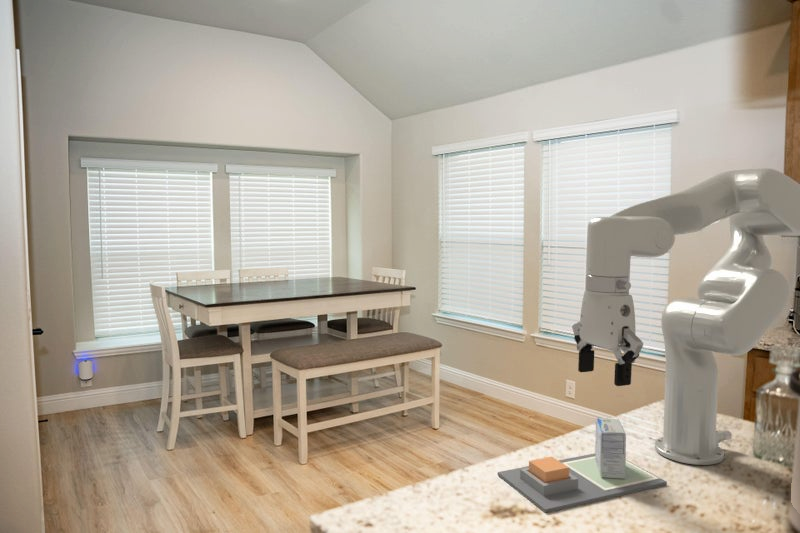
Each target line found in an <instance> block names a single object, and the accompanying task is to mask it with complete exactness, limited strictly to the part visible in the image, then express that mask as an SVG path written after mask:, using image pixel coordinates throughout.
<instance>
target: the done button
mask: <svg viewBox="0 0 800 533" xmlns="http://www.w3.org/2000/svg"><path fill="white" fill-rule="evenodd" d="M528 466H529V472H530V473H531V474H533V475H534V476H535V477H537V478H538V479H540V480H541V481H542V482H544V483H548V482H553V481H558V480H563V479H568V478H569V467H568V466H566V465H565V464H563V463H561V462H560V461H558V459H557V458H555V457H554V456H548V457H544V458H537V459H533V460H528Z"/></svg>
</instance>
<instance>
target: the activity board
mask: <svg viewBox="0 0 800 533" xmlns="http://www.w3.org/2000/svg"><path fill="white" fill-rule="evenodd" d="M557 460H558V459H557ZM558 461H560V462H561V463H563V464H565V465H566V466H568V467H569V478H568V479H563V480H558V481H553V482H548V483H544V482H542V481H541V480H540V479H538V478H537V477H535V476H534V475H533V474H531V473H530V472H529V465H528V466H522V467H518V468H513V469H507V470H503V471H501V470H500V471H497V476H498V477H499V478H501V479H502V480H503V481H504V482H505V483H506V484H508V485H509V486H510V487H511V488H513V489H514V490H516V491H517V492H518V493H520V495H522V496H523V497H524V498H526V499H527V500H528V501H529V502H531V503H532V504H533V505H534V506H535V507H538V509H540V511H542V512H544V513H545V514H546V513H551V512H555V511H560V510H565V509H568V508H572V507H577V506H581V505H586V504H591V503H594V502H599V501H603V500H607V499H613V498H616V497H620V496H624V495H625V496H626V495H628V494H634V493H637V492H638V493H639V492H642V491H647V490H651V489H655V488H659V487H663V486H667V485H668V482H667V480H664V479H663V478H661V477H660V476H657V475H655V474H653V473H651V472H649V471H648V470H646V469H644V468H643V467H640V466H639V465H637V464H635V463H632V462H631V461H629V460H628V459H626V468H625V471H626V473H625V479H615V478H603V477H601V476H600V472H599V469H598V466H597V463H596V459H595V452H594V453H589V454H584V455H579V456H574V457H568V458H563V459H559V460H558Z"/></svg>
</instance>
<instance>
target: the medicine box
mask: <svg viewBox="0 0 800 533" xmlns="http://www.w3.org/2000/svg"><path fill="white" fill-rule="evenodd" d="M626 436H627V435H626V432H625V429H624V428H623V425H622V423H621V421H620V419H617V418H608V417H607V418H603V417H601V418H600V417H599V418H598V417H597V418H595V445H594V446H595V452H594V453H595V459H596V463H597V466H598V469H599V472H600V476H601V477H603V478H615V479H625V473H626V471H625V468H626V460H627V458H626V455H627V454H626V451H627V450H626V449H627V444H626V442H627V437H626Z"/></svg>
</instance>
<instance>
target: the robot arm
mask: <svg viewBox="0 0 800 533" xmlns="http://www.w3.org/2000/svg"><path fill="white" fill-rule="evenodd" d="M726 218H729V219H728V221H729V230H730V234H729V235H730V244H729V247H728V249H727V250H726V252H724V254H723V255H722V256H721V257H720V258H719V259H718V261H717V262H715V264H714V265H712V267H711V268H710V269H709V270H708V271H707V272H706V274H705V275H704V277H702V279H701V280H700V282H699V284H698V287H697V296H698V298H694V297H681V298H676V299H673V300H672V301H670V302H668V304H667V305H666V306H665V307H664V309H663V311H662V315H661V318H660V319H661V322H660V323H661V330H662V331H661V332H662V336H663V341H664V342H663V343H664V350H665V351H664V352H665V374H664V376H665V377H664V378H665V380H664V401H663V402H664V404H663V405H664V406H663V430H662V431H663V435H662V437H659V438H657V439H656V440H655V441H654V449H655V451H656V452H657V453H658V454H659V455H660V456H663V457H665V458H667V459H670V460H672V461H675V462H678V463H682V464H689V465H695V466H710V465H716V464H719V463H721V462H723V460H724V459H725V458H724V456H725V452H724V450H723V449H722V448H721V447H720V446H719V444H720V443H721V442H722V441H727V440H730V439H732V433H731V431H730V430H728V429H723V430H719V431H718V430H717V415H718V414H717V413H718V389H719V367H718V363H717V360H716V357H715V355H714V353H718V354H723V355H727V356H728V355H729V356H737V357H738V356H742V355H745V354H747V353H749V351H751V350H752V349H754V347H755V346H757V344H758V343H759V341H760V340H761V339H763V337H764V336H765V334H766V333H767V332H768V331H769V330H770V329H771V327H772V326H773V325H774V323H775V322H776V321H777V320H778V319H779V318H780V316H781V315H782V313H784V310H785V309H786V307H787V304H788V302H789V296H790V286H789V282H788V280H787V278H786V277H785V275H784V274H783V273H781V272H780V271H778V270H777V269H773V268H771V266H772V261H773V260H772V254H771V252H770V250H769V248H768V247H767V245H766V243H765V241H764V240H765V239H764V236H784V237H785V236H787V237H789V236H790V237H791V236H792V237H799V236H800V183H798V182H797V181H796V180H794V179H793V178H791V177H790V176H788V175H786V174H785V173H783V172H781V171H779V170H776V169H774V168H766V167H764V168H753V169H752V168H751V169H750V168H749V169H737V170H728V171H724V172H720V173H719V174H716V175H713V176H712V177H709V178H708V179H706V180H704V181H702V182H699V183H697V184H694V185H693V186H690V187H688V188H687V189H684V190H681V191H678V192H675V193H671V194H668V195H665V196H660V197H658V198H655V199H652V200H649V201H644V202H641V203H638V204H634V205H632V206H629V207H627V208H624V209H622V210H621V211H618V212H616V213H614V214H612V215H610V216H598V217H594V218H591V219H590V220H589V221H588V223H587V230H586V231H587V235H586V258H585V259H586V260H585V261H586V262H585V263H586V264H585V266H586V267H585V290H584V293H583V297H582V302H581V309H580V316H579V317H580V319H579V321H578V322H575V323H574V324H573V325H572V331H573V335H574V337H573V338H574V339H573V340H574V341H575V343H576V350H577V351H578V365H577V366H578V368H577V369H578V372H579V373H588V372H589V373H590V372H593V371H594V370H595V350H593V348H594V347H597V348H600V349H603V350H608V351H611V352H613V354H614V356H615V359H616V360H617V362H616V363H614V383H613V384H614V385H615V386H616V387H623V386H624V387H625V386H630V385H631V384H632V370H633V369H632V367H633V366H632V365H633V364H634V363H635V362H636V360H637V358H639V356H640V353H641V351H642V349H643V347H644V341H642V340H641V339H640V338H639V337H638V336H637V335H636V315H635V314H636V313H635V306H634V299H633V295H632V294H630V289H631V288H632V287H631V286H632V284H631V280H630V279H631V278H630V275H631V260H632V257H634V258H635V257H637V258H650V259H651V258H652V259H653V258H657V257H661V256H664V255H665V254H667V253H669V252H670V251H671V249H672V248H673V247H674V244H675V242H676V241H675V240H676V236H678V235H686V234H687V235H688V234H690V233H692V234H694V233H697V232H702V231H703V230H706V229H708V228H709V227H711V226H713V225H716V224H717V223H719V222H721V221H723V220H724V219H726ZM622 352H623V353H622ZM713 352H714V353H713Z"/></svg>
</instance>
